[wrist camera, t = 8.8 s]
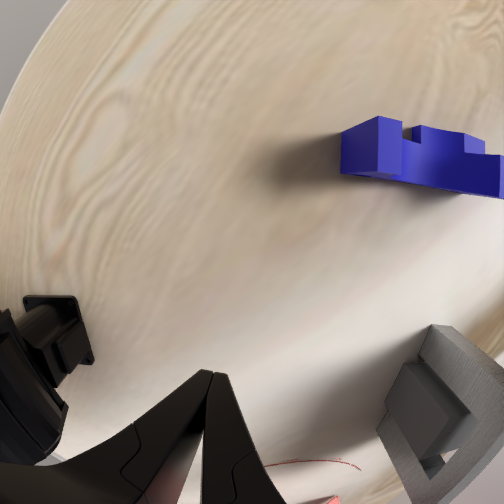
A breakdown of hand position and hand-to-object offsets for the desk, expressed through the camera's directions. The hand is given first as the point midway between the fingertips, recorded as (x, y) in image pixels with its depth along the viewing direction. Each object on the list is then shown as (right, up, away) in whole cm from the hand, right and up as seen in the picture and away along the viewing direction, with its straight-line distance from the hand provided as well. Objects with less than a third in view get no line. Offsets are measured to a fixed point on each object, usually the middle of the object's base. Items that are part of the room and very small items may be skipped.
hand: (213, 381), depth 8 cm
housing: (+18, -9, +16) cm, 25 cm away
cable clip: (+13, +12, +11) cm, 21 cm away
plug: (+21, -10, +16) cm, 28 cm away
